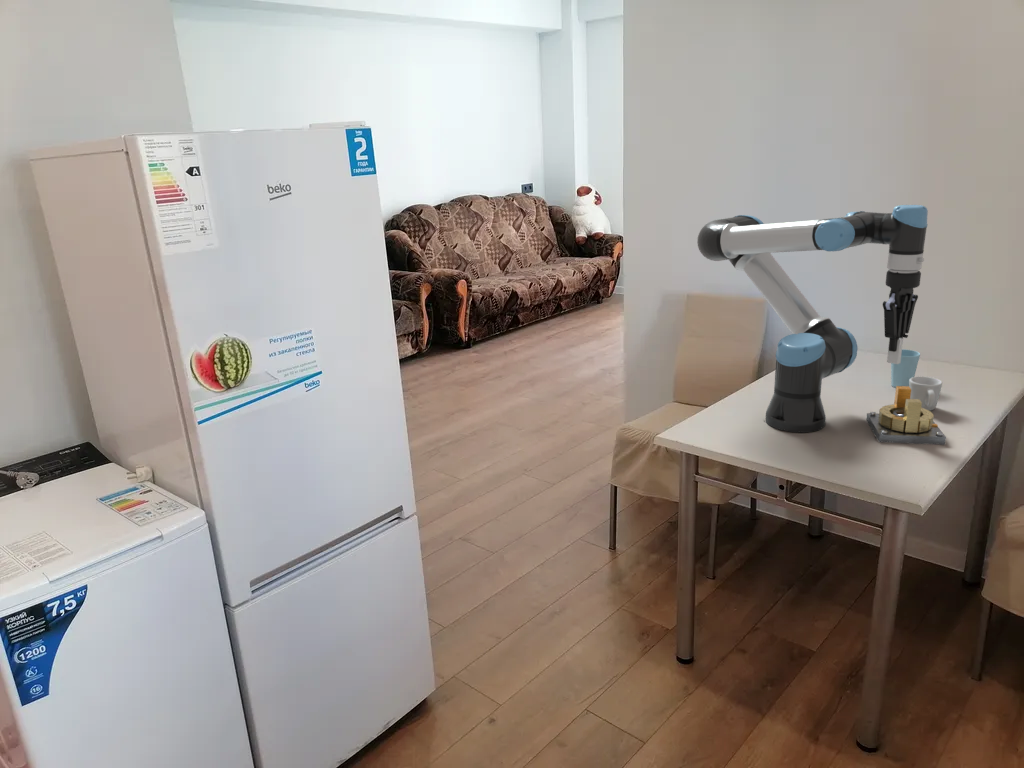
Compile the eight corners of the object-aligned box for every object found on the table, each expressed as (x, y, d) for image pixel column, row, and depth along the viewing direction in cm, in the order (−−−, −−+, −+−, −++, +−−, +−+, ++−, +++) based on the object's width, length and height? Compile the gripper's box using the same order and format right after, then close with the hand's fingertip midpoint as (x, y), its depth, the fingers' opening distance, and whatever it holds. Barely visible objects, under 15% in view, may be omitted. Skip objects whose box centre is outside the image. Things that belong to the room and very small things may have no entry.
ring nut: (885, 431, 190) (888, 401, 187) (874, 414, 201) (877, 385, 198) (937, 433, 187) (942, 403, 184) (923, 415, 198) (927, 386, 196)
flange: (878, 442, 189) (881, 422, 188) (866, 420, 203) (868, 401, 202) (944, 444, 186) (947, 425, 184) (927, 422, 200) (930, 403, 198)
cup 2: (946, 417, 202) (950, 389, 200) (913, 416, 204) (917, 388, 202) (933, 403, 212) (937, 376, 210) (902, 402, 214) (905, 375, 212)
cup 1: (889, 389, 225) (893, 355, 221) (885, 381, 232) (889, 348, 228) (918, 391, 222) (922, 357, 219) (913, 382, 229) (917, 349, 226)
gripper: (905, 275, 179) (895, 371, 186) (932, 268, 186) (921, 360, 193) (875, 272, 184) (865, 365, 192) (902, 264, 192) (892, 354, 199)
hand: (893, 362), depth 193 cm, fingers closed
